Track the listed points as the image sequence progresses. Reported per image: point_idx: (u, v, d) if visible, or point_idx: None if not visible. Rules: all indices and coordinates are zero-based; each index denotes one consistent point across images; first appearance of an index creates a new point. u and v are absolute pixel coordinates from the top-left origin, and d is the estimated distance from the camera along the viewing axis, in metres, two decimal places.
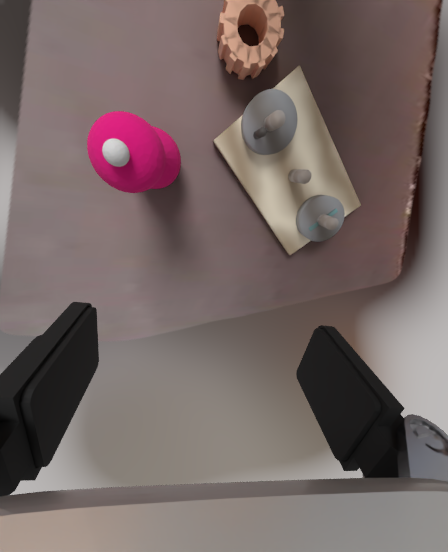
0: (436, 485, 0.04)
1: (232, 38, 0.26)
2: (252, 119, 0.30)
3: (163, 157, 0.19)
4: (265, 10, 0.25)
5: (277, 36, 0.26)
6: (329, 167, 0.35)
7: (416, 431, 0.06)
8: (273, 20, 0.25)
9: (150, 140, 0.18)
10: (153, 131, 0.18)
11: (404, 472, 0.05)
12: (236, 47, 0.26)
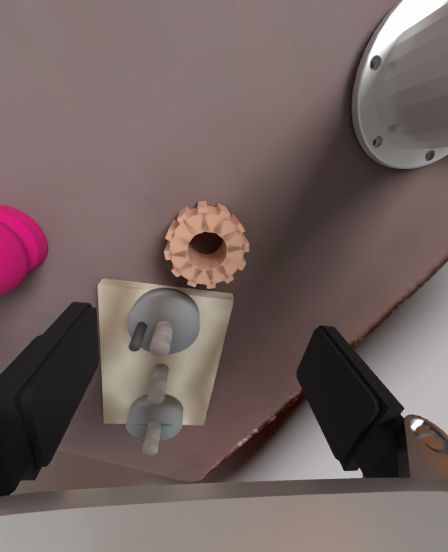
0: (436, 485, 0.04)
1: (179, 242, 0.19)
2: (147, 311, 0.22)
3: None
4: (228, 252, 0.20)
5: (223, 278, 0.21)
6: (199, 384, 0.30)
7: (416, 431, 0.06)
8: (229, 265, 0.20)
9: None
10: None
11: (404, 472, 0.05)
12: (177, 251, 0.19)
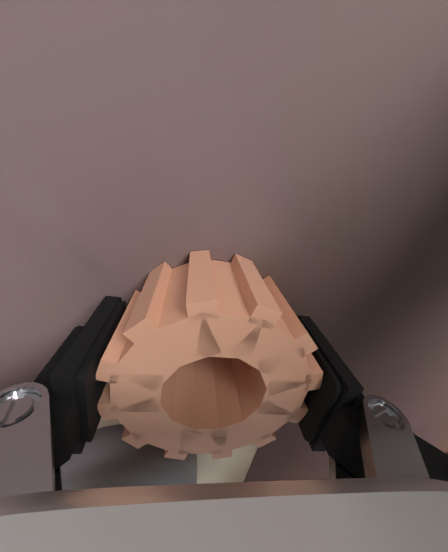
0: (436, 485, 0.04)
1: (135, 383, 0.07)
2: None
3: None
4: (269, 393, 0.08)
5: (251, 439, 0.09)
6: None
7: (373, 411, 0.07)
8: (268, 417, 0.08)
9: None
10: None
11: (367, 455, 0.06)
12: (132, 403, 0.07)
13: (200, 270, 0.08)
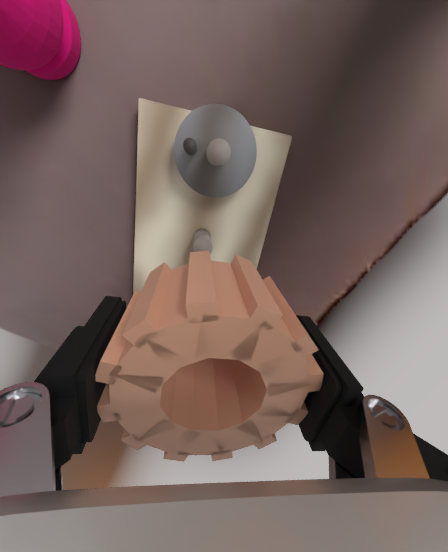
0: (436, 485, 0.04)
1: (135, 385, 0.07)
2: (199, 125, 0.19)
3: None
4: (269, 394, 0.08)
5: (251, 441, 0.09)
6: None
7: (373, 411, 0.07)
8: (268, 418, 0.08)
9: None
10: None
11: (367, 455, 0.06)
12: (132, 404, 0.07)
13: (200, 271, 0.08)
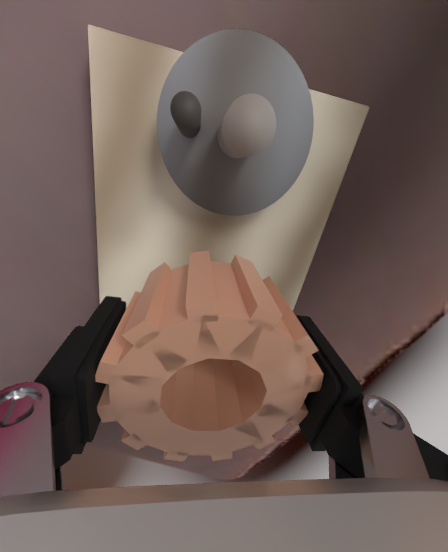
0: (436, 485, 0.04)
1: (135, 385, 0.07)
2: (205, 77, 0.09)
3: None
4: (269, 395, 0.08)
5: (251, 441, 0.09)
6: None
7: (373, 411, 0.07)
8: (268, 418, 0.08)
9: None
10: None
11: (367, 455, 0.06)
12: (132, 405, 0.07)
13: (200, 271, 0.08)
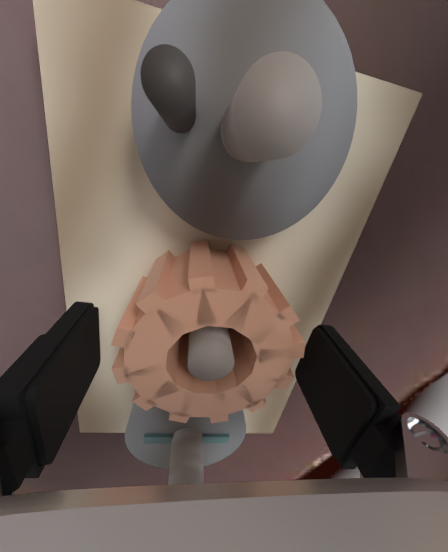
0: (436, 485, 0.04)
1: (145, 349, 0.08)
2: (203, 41, 0.06)
3: None
4: (259, 361, 0.09)
5: (245, 405, 0.10)
6: None
7: (413, 429, 0.06)
8: (259, 383, 0.10)
9: None
10: None
11: (401, 471, 0.05)
12: (142, 367, 0.08)
13: (200, 255, 0.09)
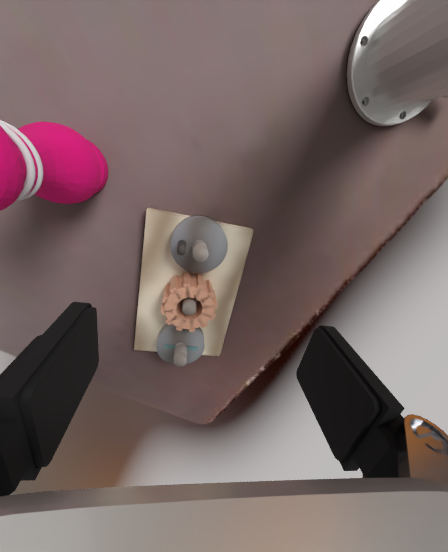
0: (436, 485, 0.04)
1: (170, 303, 0.29)
2: (188, 230, 0.28)
3: None
4: (203, 309, 0.30)
5: (200, 325, 0.31)
6: (219, 312, 0.36)
7: (416, 431, 0.06)
8: (204, 317, 0.31)
9: None
10: (6, 173, 0.12)
11: (404, 472, 0.05)
12: (169, 309, 0.30)
13: (186, 277, 0.30)
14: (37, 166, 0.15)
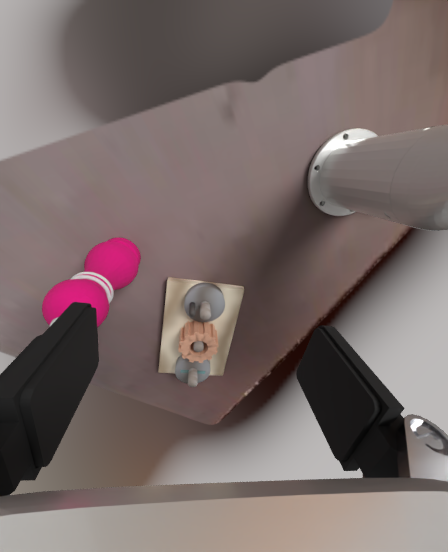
0: (436, 485, 0.04)
1: (185, 345, 0.41)
2: (196, 295, 0.39)
3: None
4: (208, 347, 0.42)
5: (206, 358, 0.43)
6: (221, 345, 0.47)
7: (416, 431, 0.06)
8: (209, 353, 0.43)
9: None
10: (104, 314, 0.24)
11: (404, 472, 0.05)
12: (184, 349, 0.42)
13: (196, 325, 0.42)
14: (111, 293, 0.27)
